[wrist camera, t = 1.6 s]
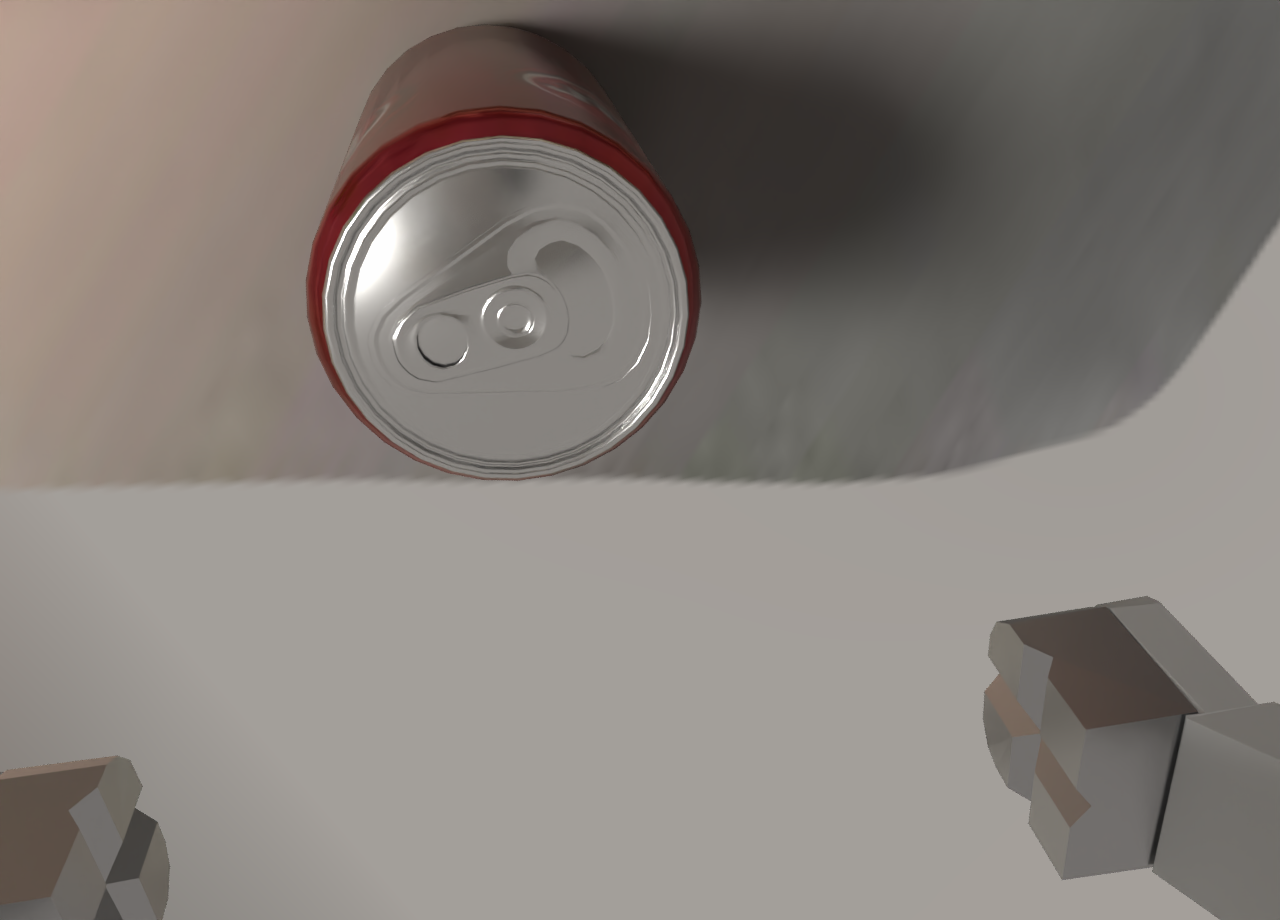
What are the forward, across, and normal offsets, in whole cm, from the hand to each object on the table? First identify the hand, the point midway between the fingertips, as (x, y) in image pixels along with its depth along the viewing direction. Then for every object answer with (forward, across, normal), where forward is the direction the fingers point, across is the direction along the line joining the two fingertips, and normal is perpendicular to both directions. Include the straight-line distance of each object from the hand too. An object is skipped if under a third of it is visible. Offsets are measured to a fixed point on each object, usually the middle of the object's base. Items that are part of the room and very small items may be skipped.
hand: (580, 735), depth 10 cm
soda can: (+23, 0, 0) cm, 23 cm away
